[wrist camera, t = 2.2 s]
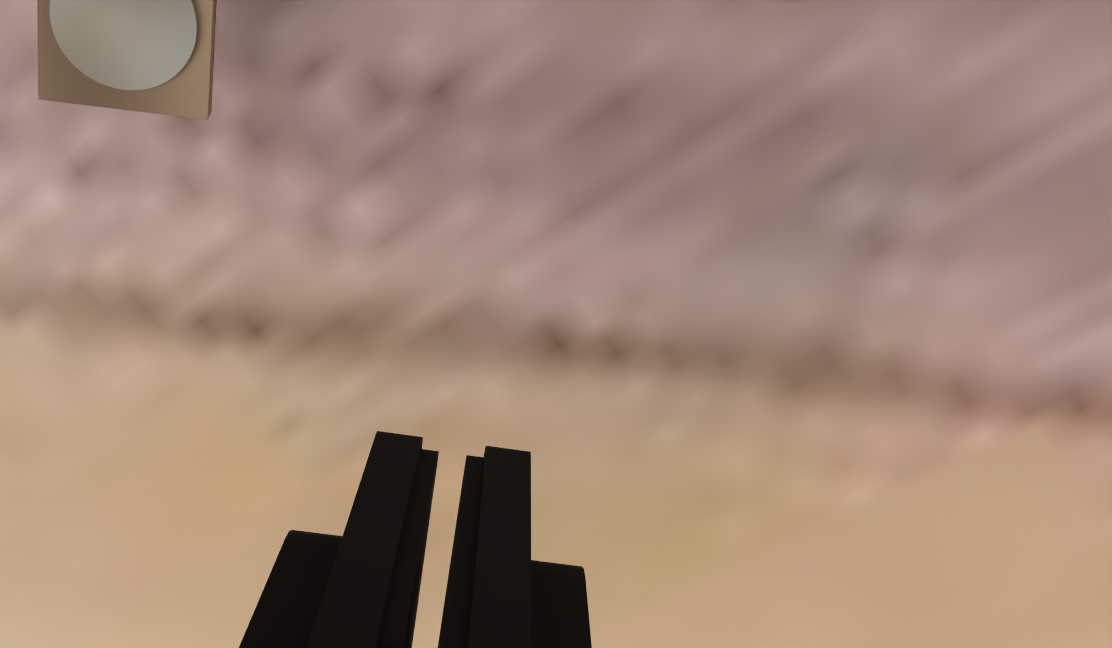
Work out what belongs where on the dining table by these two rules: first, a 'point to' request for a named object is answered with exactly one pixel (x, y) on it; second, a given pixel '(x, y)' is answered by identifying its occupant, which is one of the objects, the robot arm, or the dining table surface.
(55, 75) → the seesaw
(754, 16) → the dining table surface
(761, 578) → the dining table surface
